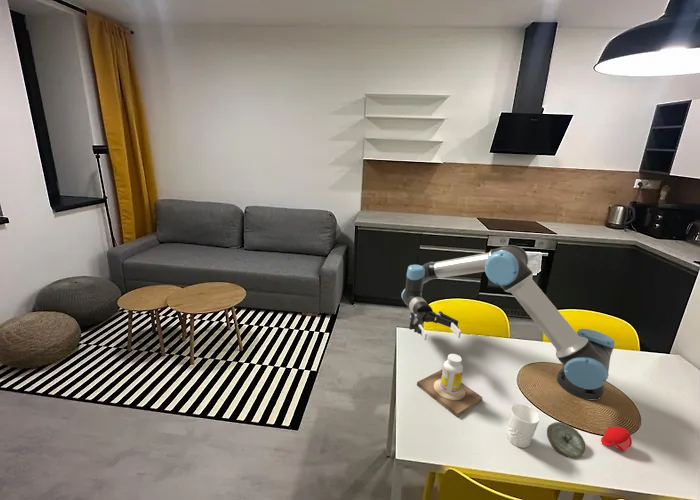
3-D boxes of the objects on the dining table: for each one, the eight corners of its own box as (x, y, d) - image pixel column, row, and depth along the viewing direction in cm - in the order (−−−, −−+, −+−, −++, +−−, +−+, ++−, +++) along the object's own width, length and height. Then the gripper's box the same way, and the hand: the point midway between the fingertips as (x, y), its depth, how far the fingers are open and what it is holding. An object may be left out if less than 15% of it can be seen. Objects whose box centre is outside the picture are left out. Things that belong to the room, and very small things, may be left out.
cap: (622, 428, 111) (608, 417, 111) (639, 438, 105) (623, 426, 105) (608, 449, 111) (593, 438, 111) (624, 460, 105) (608, 448, 105)
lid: (576, 435, 111) (580, 423, 109) (590, 462, 102) (595, 449, 100) (540, 428, 113) (544, 416, 111) (551, 454, 104) (555, 441, 102)
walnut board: (481, 400, 123) (482, 396, 123) (457, 417, 115) (458, 412, 114) (441, 372, 137) (442, 368, 136) (416, 385, 128) (417, 381, 128)
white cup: (535, 452, 104) (543, 425, 101) (507, 446, 105) (514, 420, 102) (527, 431, 111) (535, 406, 108) (501, 426, 113) (508, 401, 109)
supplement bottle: (460, 386, 127) (466, 355, 123) (457, 397, 121) (463, 365, 117) (441, 379, 129) (447, 350, 126) (438, 390, 124) (443, 359, 120)
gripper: (446, 315, 153) (471, 342, 133) (392, 318, 148) (410, 346, 128) (448, 300, 151) (475, 324, 131) (393, 302, 146) (412, 328, 126)
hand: (443, 335), depth 130 cm, fingers open, 13 cm apart
